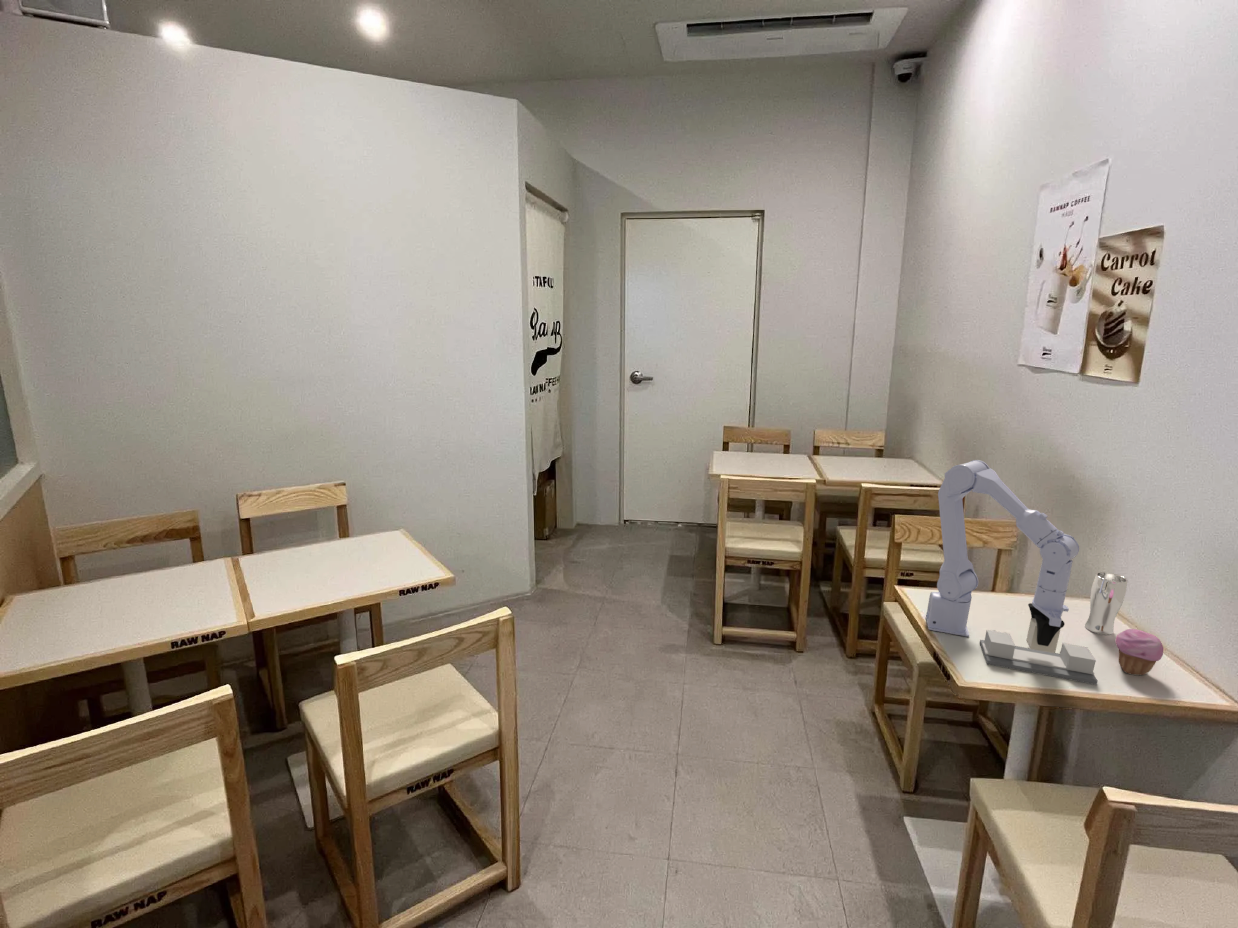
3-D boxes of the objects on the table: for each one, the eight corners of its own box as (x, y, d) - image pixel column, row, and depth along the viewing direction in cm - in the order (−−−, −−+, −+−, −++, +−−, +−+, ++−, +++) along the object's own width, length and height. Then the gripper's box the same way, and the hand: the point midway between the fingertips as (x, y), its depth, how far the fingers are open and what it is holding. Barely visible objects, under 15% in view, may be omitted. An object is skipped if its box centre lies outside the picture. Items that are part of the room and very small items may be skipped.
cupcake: (1104, 656, 157) (1114, 619, 154) (1148, 665, 154) (1158, 627, 151) (1116, 676, 149) (1126, 637, 146) (1162, 685, 146) (1174, 645, 143)
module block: (1030, 648, 151) (1035, 624, 150) (1026, 640, 155) (1031, 617, 153) (1055, 653, 150) (1060, 629, 148) (1050, 644, 153) (1055, 621, 152)
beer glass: (1086, 632, 168) (1099, 579, 164) (1079, 620, 174) (1091, 569, 170) (1119, 638, 165) (1132, 584, 162) (1110, 626, 172) (1123, 574, 168)
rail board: (986, 663, 152) (990, 645, 151) (979, 643, 161) (982, 625, 160) (1096, 684, 145) (1101, 665, 144) (1082, 661, 154) (1087, 643, 153)
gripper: (1082, 603, 140) (1069, 659, 144) (1062, 577, 154) (1051, 628, 157) (1044, 597, 143) (1032, 652, 146) (1028, 572, 156) (1018, 623, 159)
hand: (1040, 639), depth 152 cm, fingers closed on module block, 4 cm apart
